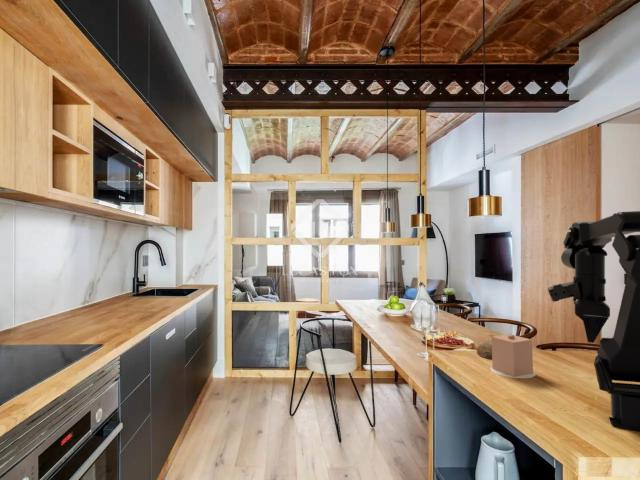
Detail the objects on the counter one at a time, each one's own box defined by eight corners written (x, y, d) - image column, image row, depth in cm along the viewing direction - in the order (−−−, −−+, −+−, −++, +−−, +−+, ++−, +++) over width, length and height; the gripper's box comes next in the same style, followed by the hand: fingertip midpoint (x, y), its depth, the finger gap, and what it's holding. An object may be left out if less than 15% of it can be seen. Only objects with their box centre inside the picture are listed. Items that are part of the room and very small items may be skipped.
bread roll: (476, 371, 111) (475, 350, 108) (478, 349, 120) (477, 330, 117) (512, 375, 107) (511, 354, 104) (511, 352, 115) (510, 332, 112)
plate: (535, 384, 90) (534, 381, 90) (487, 377, 96) (487, 373, 96) (536, 372, 99) (536, 368, 99) (493, 365, 105) (493, 362, 105)
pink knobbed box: (533, 373, 95) (531, 336, 96) (514, 376, 93) (513, 339, 93) (510, 365, 102) (509, 331, 102) (492, 368, 99) (491, 333, 100)
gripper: (550, 267, 97) (551, 323, 98) (548, 276, 82) (548, 342, 83) (602, 269, 91) (602, 329, 92) (610, 279, 76) (610, 350, 76)
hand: (589, 336), depth 86 cm, fingers open, 9 cm apart
